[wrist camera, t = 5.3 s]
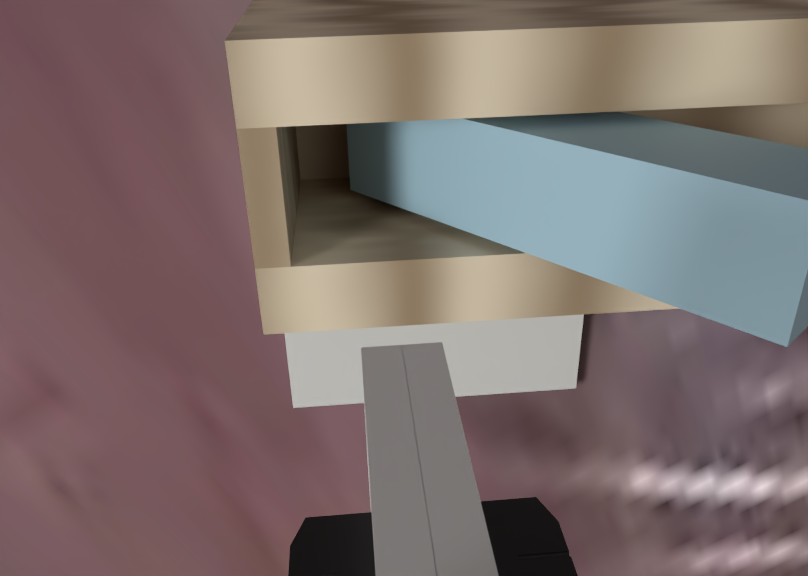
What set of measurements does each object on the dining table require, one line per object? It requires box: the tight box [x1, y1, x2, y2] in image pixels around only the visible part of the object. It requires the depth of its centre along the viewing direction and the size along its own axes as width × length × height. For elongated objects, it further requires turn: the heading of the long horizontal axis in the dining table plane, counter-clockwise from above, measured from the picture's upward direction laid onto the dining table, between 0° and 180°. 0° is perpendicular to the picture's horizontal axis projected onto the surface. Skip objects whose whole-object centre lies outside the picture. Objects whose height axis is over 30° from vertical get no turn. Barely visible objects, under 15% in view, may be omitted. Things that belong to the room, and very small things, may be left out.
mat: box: [285, 314, 584, 408], centre depth 38 cm, size 8×15×1 cm, turn 91°
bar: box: [346, 112, 808, 347], centre depth 25 cm, size 17×4×4 cm
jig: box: [225, 0, 808, 334], centre depth 29 cm, size 23×10×10 cm, turn 91°
